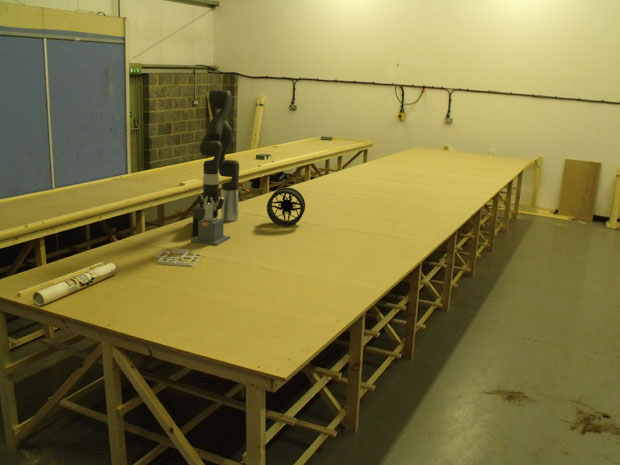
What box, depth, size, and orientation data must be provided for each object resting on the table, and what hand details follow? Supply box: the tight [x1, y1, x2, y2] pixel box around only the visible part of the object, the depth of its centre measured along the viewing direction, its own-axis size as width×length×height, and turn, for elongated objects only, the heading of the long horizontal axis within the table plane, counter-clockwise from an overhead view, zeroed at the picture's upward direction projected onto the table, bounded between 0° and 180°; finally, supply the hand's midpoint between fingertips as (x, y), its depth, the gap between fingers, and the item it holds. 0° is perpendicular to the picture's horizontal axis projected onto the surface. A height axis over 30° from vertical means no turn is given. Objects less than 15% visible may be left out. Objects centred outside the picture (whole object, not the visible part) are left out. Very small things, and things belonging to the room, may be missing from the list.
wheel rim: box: [266, 186, 306, 228], centre depth 333 cm, size 20×9×20 cm, turn 84°
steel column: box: [205, 203, 218, 222], centre depth 299 cm, size 4×4×16 cm
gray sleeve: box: [190, 218, 231, 246], centre depth 301 cm, size 14×14×10 cm
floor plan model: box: [155, 247, 203, 267], centre depth 273 cm, size 19×25×2 cm
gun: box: [191, 207, 205, 236], centre depth 320 cm, size 7×29×15 cm, turn 6°
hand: (210, 216), depth 299 cm, fingers closed on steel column, 4 cm apart
